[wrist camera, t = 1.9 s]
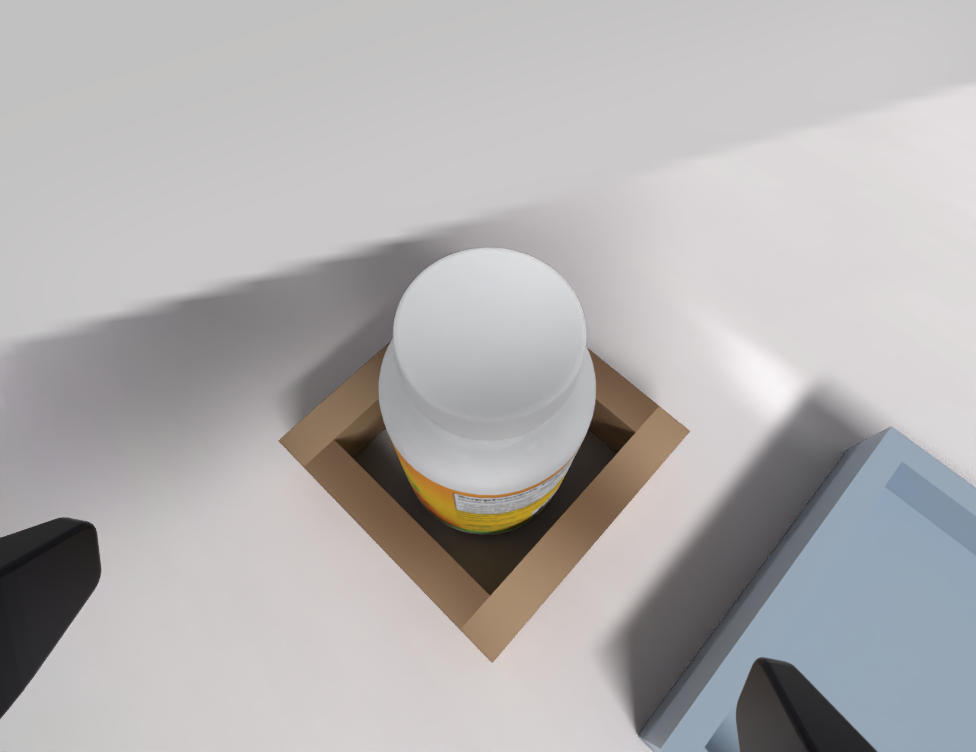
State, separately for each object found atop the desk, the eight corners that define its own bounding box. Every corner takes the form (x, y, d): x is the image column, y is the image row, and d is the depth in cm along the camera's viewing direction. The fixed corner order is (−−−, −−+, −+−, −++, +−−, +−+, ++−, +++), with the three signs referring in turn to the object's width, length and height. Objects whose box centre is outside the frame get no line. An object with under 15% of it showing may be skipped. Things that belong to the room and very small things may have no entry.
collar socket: (490, 660, 19) (492, 662, 17) (300, 462, 21) (278, 440, 19) (667, 453, 21) (690, 430, 19) (480, 298, 24) (480, 261, 22)
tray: (953, 1050, 15) (1036, 1121, 13) (637, 735, 18) (660, 749, 16) (1133, 665, 19) (1223, 668, 17) (847, 449, 22) (891, 426, 19)
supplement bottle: (400, 397, 22) (346, 232, 13) (546, 377, 23) (590, 204, 14) (416, 549, 20) (365, 475, 11) (577, 524, 21) (652, 433, 12)
